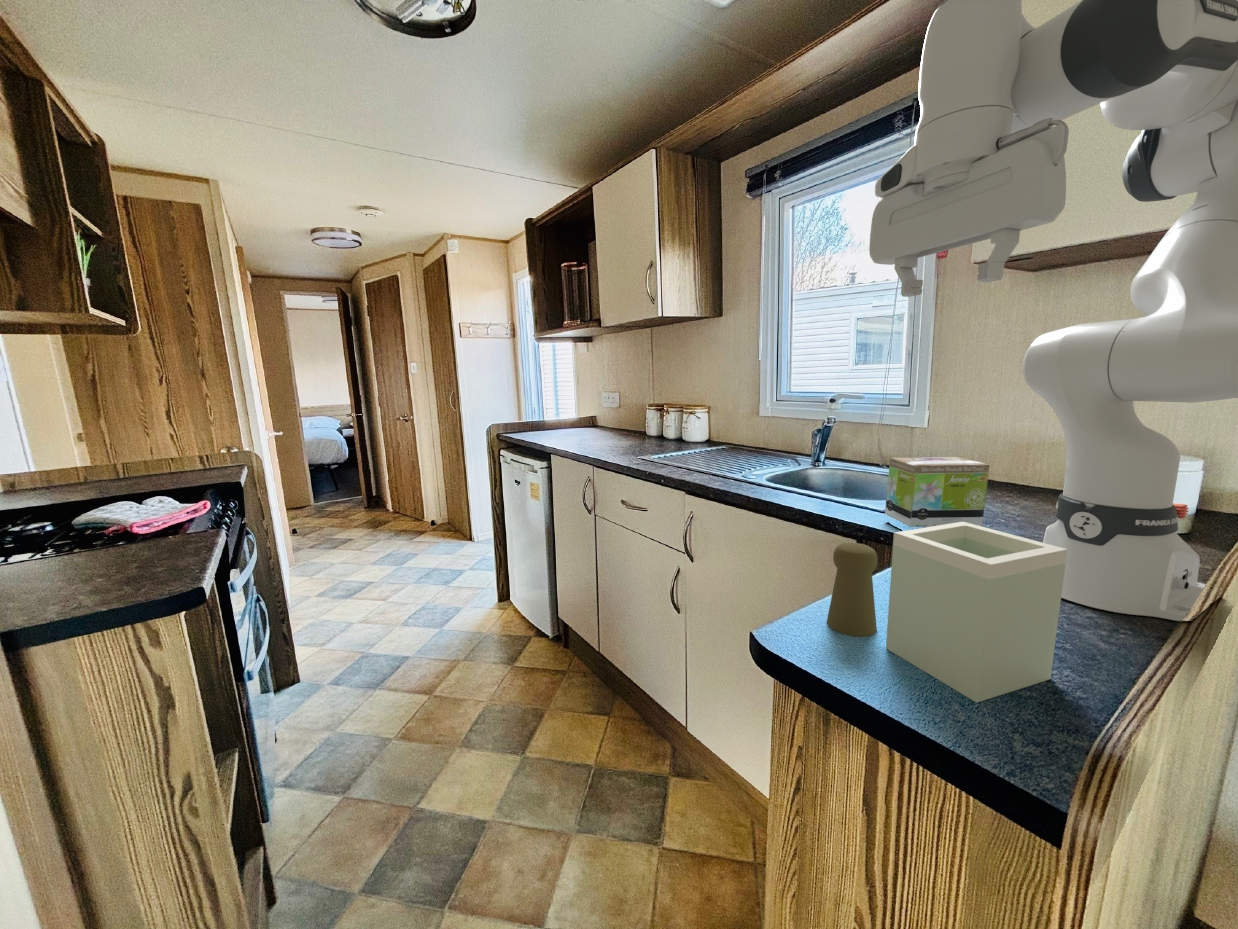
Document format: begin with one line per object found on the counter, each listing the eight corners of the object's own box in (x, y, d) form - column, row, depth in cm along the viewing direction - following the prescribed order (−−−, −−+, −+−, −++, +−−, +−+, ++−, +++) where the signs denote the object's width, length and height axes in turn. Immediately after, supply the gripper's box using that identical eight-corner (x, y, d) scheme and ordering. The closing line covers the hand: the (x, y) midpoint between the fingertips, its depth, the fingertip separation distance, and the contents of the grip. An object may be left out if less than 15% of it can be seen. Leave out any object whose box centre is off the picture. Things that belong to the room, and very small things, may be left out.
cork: (862, 613, 69) (866, 537, 67) (886, 635, 63) (892, 552, 61) (818, 615, 69) (822, 538, 67) (839, 637, 63) (843, 554, 61)
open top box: (952, 631, 64) (963, 521, 61) (1050, 679, 53) (1067, 549, 51) (885, 648, 60) (893, 532, 58) (976, 702, 50) (990, 564, 47)
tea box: (910, 536, 101) (915, 464, 98) (883, 522, 111) (887, 456, 108) (983, 534, 101) (991, 462, 99) (950, 520, 111) (956, 454, 109)
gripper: (1093, 113, 46) (1072, 271, 48) (902, 192, 65) (894, 303, 67) (1047, 101, 44) (1028, 267, 46) (864, 187, 63) (857, 301, 65)
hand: (947, 289), depth 57 cm, fingers open, 8 cm apart
